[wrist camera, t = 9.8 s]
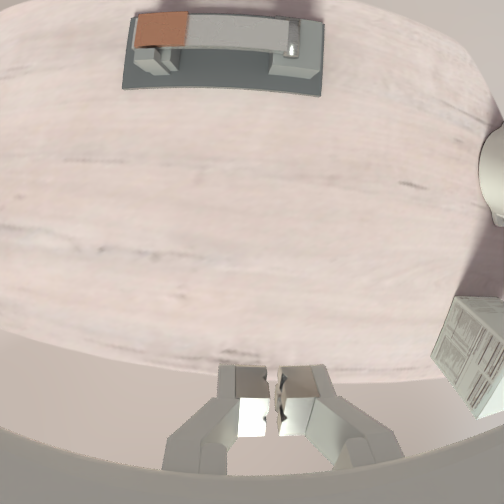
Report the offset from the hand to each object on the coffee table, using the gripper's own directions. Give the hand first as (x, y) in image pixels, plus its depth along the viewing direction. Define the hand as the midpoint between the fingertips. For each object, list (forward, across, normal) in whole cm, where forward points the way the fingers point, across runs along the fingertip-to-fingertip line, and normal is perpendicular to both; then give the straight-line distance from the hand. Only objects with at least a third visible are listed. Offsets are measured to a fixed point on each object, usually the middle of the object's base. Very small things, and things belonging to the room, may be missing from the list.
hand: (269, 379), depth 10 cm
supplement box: (+31, -42, +19) cm, 56 cm away
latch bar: (+25, +4, -19) cm, 31 cm away
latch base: (+31, +4, -19) cm, 37 cm away
